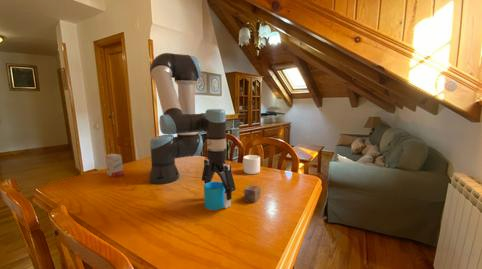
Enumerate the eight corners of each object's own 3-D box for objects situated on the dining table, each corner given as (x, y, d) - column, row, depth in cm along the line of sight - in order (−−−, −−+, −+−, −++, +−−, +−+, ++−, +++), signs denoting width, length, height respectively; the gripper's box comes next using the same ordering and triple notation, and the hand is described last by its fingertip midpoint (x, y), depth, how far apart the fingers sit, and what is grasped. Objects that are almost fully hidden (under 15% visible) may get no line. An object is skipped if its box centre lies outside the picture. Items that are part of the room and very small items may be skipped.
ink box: (123, 175, 118) (121, 154, 116) (114, 177, 114) (112, 156, 112) (116, 172, 123) (114, 153, 121) (107, 174, 119) (104, 154, 117)
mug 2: (250, 167, 130) (250, 153, 129) (265, 170, 124) (265, 155, 123) (239, 172, 120) (239, 157, 119) (254, 176, 114) (254, 160, 113)
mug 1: (215, 212, 77) (215, 191, 76) (200, 206, 82) (199, 186, 80) (234, 199, 87) (234, 181, 85) (220, 195, 91) (219, 177, 90)
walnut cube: (244, 200, 86) (244, 188, 85) (249, 195, 91) (249, 184, 90) (255, 203, 84) (255, 191, 83) (260, 198, 88) (260, 186, 87)
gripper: (191, 146, 86) (193, 196, 89) (230, 155, 70) (231, 216, 73) (206, 143, 91) (207, 191, 95) (245, 151, 76) (245, 208, 79)
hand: (218, 202), depth 84 cm, fingers open, 11 cm apart
